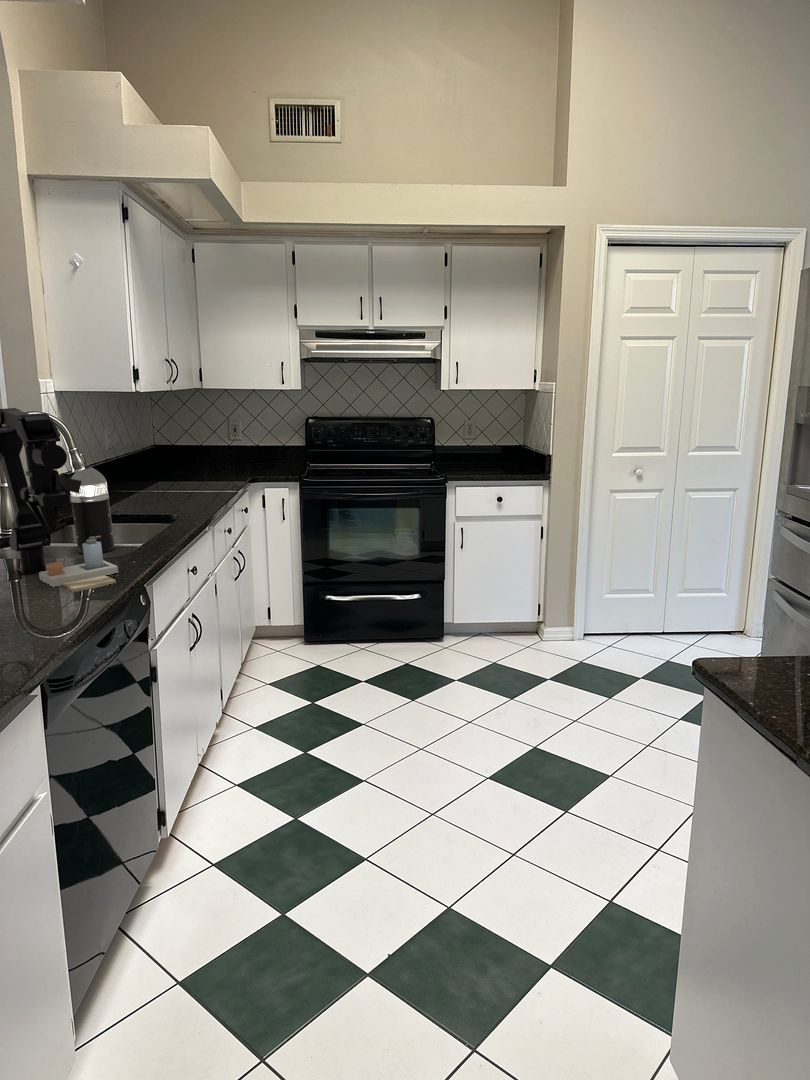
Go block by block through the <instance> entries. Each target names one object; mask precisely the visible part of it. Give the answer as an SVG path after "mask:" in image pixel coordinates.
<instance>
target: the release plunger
mask: <svg viewBox="0 0 810 1080" xmlns="http://www.w3.org/2000/svg"><path fill="white" fill-rule="evenodd" d="M45 564H46V570H45V571H48V575H49V576H55V575H60V574H64V573H63V568H64V567H65V565H64V562H63V561H53V562H49V563H45Z"/></svg>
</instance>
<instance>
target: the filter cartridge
mask: <svg viewBox="0 0 810 1080" xmlns="http://www.w3.org/2000/svg"><path fill="white" fill-rule="evenodd" d="M82 546H83V553H82V554H83V559H84V560H83V561H84V564H85V569H86V570H92V569H97V568H102V567H104V563H103V560H104V558H103V557H104V556H103V553H102V547H101V542H98V541H96V539H87V540H86V543H83V544H82Z"/></svg>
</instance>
